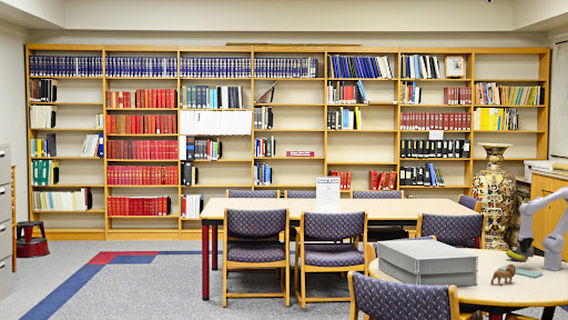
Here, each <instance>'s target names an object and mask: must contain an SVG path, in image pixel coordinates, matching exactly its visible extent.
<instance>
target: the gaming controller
mask: <svg viewBox="0 0 568 320" xmlns="http://www.w3.org/2000/svg"><path fill="white" fill-rule="evenodd" d="M514 247H515V246H511V247H510V250H506V251H505V255H506V256H507V257H508V258H510V259H511V260H514V261H517V262H525V261H527V260H528V259H529V257H527V256H522V255H517V251H513V250H512V248H514ZM515 248H517V246H516V247H515Z"/></svg>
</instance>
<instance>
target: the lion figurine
mask: <svg viewBox="0 0 568 320" xmlns="http://www.w3.org/2000/svg"><path fill="white" fill-rule="evenodd" d="M506 266H507V268H506V270H505V271H500V270H498V269H497V270H495V271H494V272H493V275H492V278H491V280H490V284H491V286H493V285H494V281H495V280H496V279H497V284H498V285H499V286H503V283H501V280H502V279H504V283H505V284H508V279H509V285H513V283H512V281H513V277H515V275H516V274H515V272H516V268H517V267H516V266H515V265H514V264H513V263H509V264H507V265H506Z"/></svg>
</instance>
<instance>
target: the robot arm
mask: <svg viewBox="0 0 568 320" xmlns="http://www.w3.org/2000/svg"><path fill="white" fill-rule="evenodd" d="M560 199H563V201H565V202H566V206H567V207H566V209H565V210H564V212H563V214H562V216H561V218H560V219H559V221H558V222H557V224H556V226H555V228H554V229H553V231H552V232H550V233H549V234H548V235H547V236H546V237H544V238H543V240H542V243H541V244H542V247H543V248H544V260H543V265H542V266H540V268H541V269H545V270H549V271H556V272H557V271H560V270H561V269H563V268H564V266H562V262H563V255H562V253H561V252H562V251H563V250H564V245H565V242H566V241H565V238H564V237H565V235H566V234H567V232H568V186H564V187H560V188H559V189H557V190H556V191H554V192H553V193H550V194H548V195H547V196H545V197H542V196H536V197H535V199H533V200H528V202H523V203H521V204H520V206H519V207H518V211H519V213H520V223H519V224H520V228H519V232H518V233H517V235H518V236H517V243H518V245H520V249H521V253H526V250H527V246H528V247H532V245H533V243H534V240H535V238H533V237H534V235H535V233H534V232H533V220H534V215H535V214H536V212H537V211H540V210H542V209H544V208H546V207H547V206H548V204H551V203H552V202H555V201H557V200H560Z"/></svg>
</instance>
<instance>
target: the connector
mask: <svg viewBox="0 0 568 320" xmlns="http://www.w3.org/2000/svg"><path fill="white" fill-rule="evenodd" d="M513 247H514V248H512V250H513V251H517V255H522V256H527V257H528V258H534V255H535V254H534V253H535V252H534V251H535V248H534V247H532V246H531V247H528V246H527V250H526V253H521V249H520V245H519V244H517V245H516V248H515V246H513Z"/></svg>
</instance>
